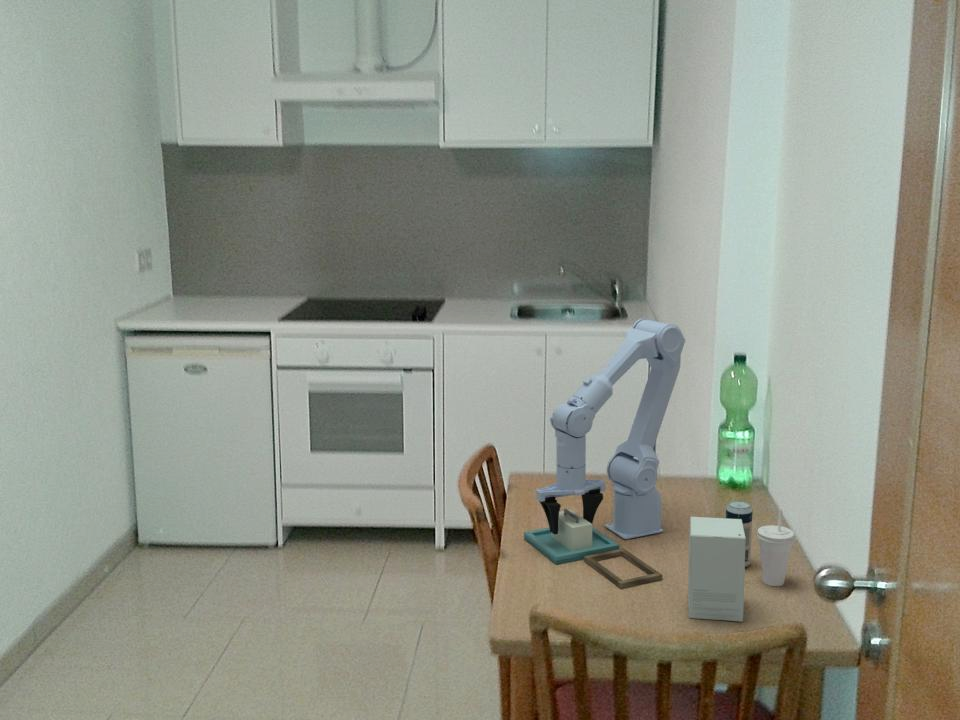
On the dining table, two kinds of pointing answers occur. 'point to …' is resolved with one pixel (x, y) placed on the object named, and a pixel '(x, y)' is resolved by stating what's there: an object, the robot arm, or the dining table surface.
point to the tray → (562, 554)
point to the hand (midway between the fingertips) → (570, 529)
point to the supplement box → (716, 569)
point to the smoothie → (775, 551)
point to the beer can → (745, 513)
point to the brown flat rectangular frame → (624, 553)
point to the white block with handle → (573, 531)
